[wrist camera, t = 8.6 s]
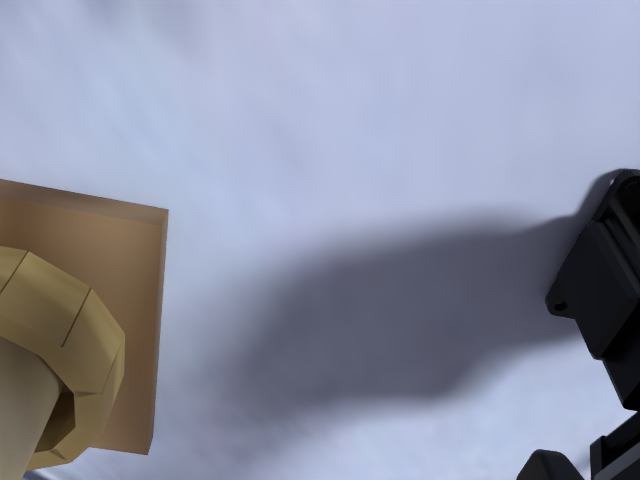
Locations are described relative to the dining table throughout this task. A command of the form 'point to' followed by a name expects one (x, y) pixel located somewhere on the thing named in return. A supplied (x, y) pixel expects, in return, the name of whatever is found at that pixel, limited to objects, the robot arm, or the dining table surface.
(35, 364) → the candle
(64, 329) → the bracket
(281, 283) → the dining table surface
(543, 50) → the dining table surface
